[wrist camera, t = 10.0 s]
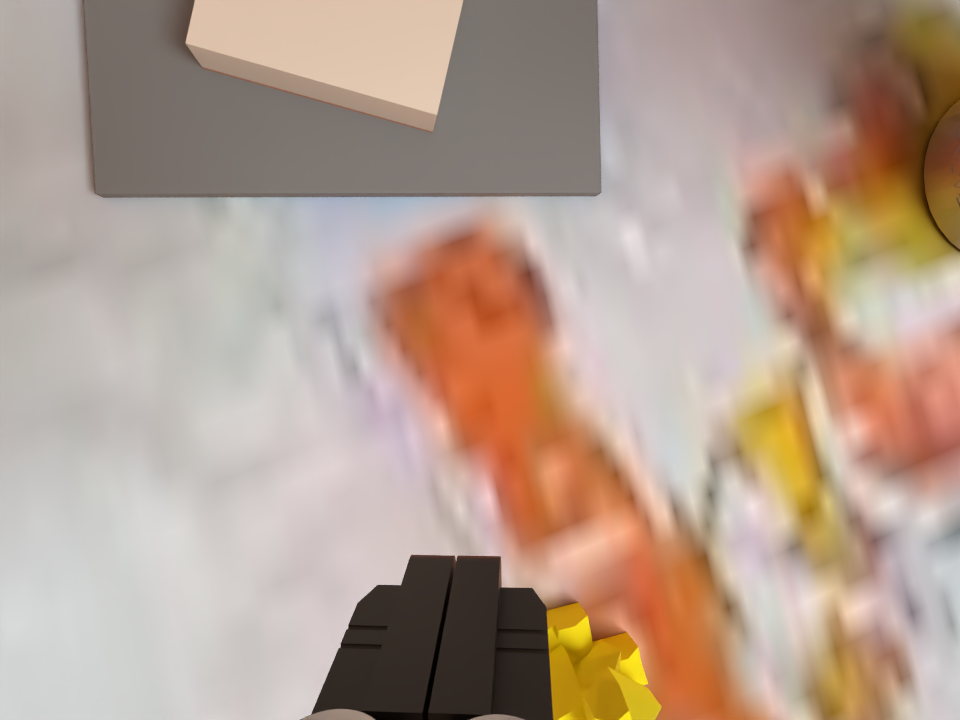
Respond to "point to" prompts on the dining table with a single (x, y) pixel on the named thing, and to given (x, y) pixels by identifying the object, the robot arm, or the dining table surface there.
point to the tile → (335, 50)
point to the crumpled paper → (595, 672)
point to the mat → (347, 114)
